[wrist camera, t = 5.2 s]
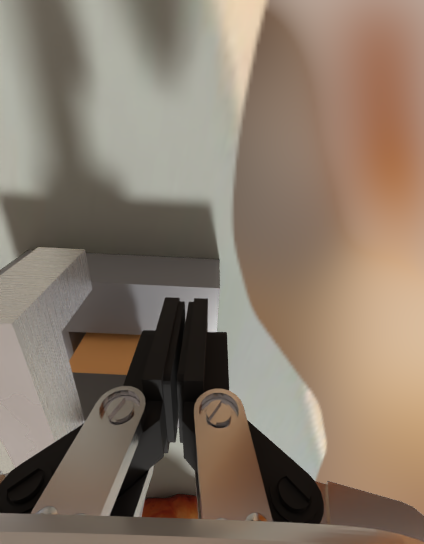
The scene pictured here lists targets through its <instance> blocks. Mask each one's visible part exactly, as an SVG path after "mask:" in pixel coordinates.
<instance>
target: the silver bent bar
mask: <svg viewBox="0 0 424 544" xmlns="http://www.w3.org/2000/svg"><path fill="white" fill-rule="evenodd" d="M91 290H92V284H91V279H90V273H89V268H88V262H87V257H86V252H85V249H67V248H46V247H38V248H36V249H35V250H34V251H32V252H31V253H30V254H28V255H27V256H26V257H24V258H23V259H22V260H20V261H19V262H18V263H16V264H15V265H13V266H12V267H11V268H9V269H8V270H7V271H5V272H4V273H3V274H1V275H0V439H1V441H2V443H3V445H4V447H5V449H6V451H7V453H8V455H9V457H10V459H11V461H12V463H13V465H14V467H15V468H16V467H17V466H19V465H20V464H22V463H23V462H25V461H26V460H28V459H29V458H31V457H32V456H34V455H35V454H37V453H39V452H40V451H42V450H43V449H45V448H46V447H48V446H49V445H51V444H52V443H54V442H56V441H57V440H59V439H60V438H62V437H63V436H65V435H66V434H68V433H69V432H71V431H73V430H74V429H76V428H77V427H79V426H80V425H82V424H83V423H85V419H84V415H83V411H82V408H81V404H80V400H79V396H78V393H77V389H76V385H75V381H74V378H73V374H72V370H71V366H70V363H69V359H68V355H67V351H66V348H65V344H64V340H63V336H62V333H61V332H62V330H63V329H64V328H65V326H66V325H67V323H68V322H69V321H70V319H71V318H72V317H73V315H74V314H75V312H76V311H77V310H78V308H79V307H80V305H81V304H82V303H83V301H84V300H85V299H86V297H87V296H88V294H89V293H90V292H91Z"/></svg>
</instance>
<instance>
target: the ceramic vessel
mask: <svg viewBox="0 0 424 544" xmlns="http://www.w3.org/2000/svg"><path fill="white" fill-rule="evenodd" d="M142 517H153V518H183V519H198V511H197V497H196V496H194V495H185V494H177V495H174V496H172V497H168V498H147V499H145V502H144V507H143V512H142Z"/></svg>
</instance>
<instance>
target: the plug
mask: <svg viewBox="0 0 424 544" xmlns="http://www.w3.org/2000/svg"><path fill="white" fill-rule="evenodd" d="M140 336H141V335H130V334H109V333H87V332H86V334H85V336H84V337H83V339H82V341H81V342H80V344H79V345H78V347H77V349H76V350H75V352H74V354H73V355H72V357H71V359H70V360H69V363H70V366H71V370H72V374H73V378H74V381H75V385H76V389H77V393H78V396H79V400H80V404H81V408H82V411H83V415H84V419H85V421H86V419H87V418H88V416H89V414H90V413H91V411H92V409H93V408H94V406H95V404H96V402H97V401H98V400H99V399H100V397H101V396H102V395H104V394H105V393H106V392H107V391H109V390H111V389H114V388H116V387H120V386H123V384H124V381H125V379H126V376H127V373H128V370H129V367H130V364H131V361H132V359H133V356H134V353H135V350H136V347H137V344H138V341H139V339H140Z"/></svg>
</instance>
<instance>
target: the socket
mask: <svg viewBox="0 0 424 544" xmlns="http://www.w3.org/2000/svg"><path fill="white" fill-rule="evenodd" d="M32 251H33V250H28V251H26V252H25V253H23V254H22V255H21V256H19V257H18V258H16V259H15V260H14V261H12V262H11V263H9V264H8V265H7V266H5V267H4V268H2V269H1V270H0V275H1V274H3V273H4V272H5V271H7V270H8V269H9V268H11V267H12V266H13V265H15V264H16V263H18V262H19V261H20V260H22V259H23V258H24V257H26V256H27V255H28V254H30V253H31V252H32ZM86 257H87V262H88V268H89V273H90V279H91V284H92V290H91V292H90V293H89V294H88V296H87V297H86V299H85V300H84V301H83V303H82V304H81V305H80V307H79V308H78V310H77V311H76V312H75V314H74V315H73V317H72V318H71V319H70V321H69V322H68V323H67V325H66V326H65V328H64V329H63V330H62V332H61V333H62V336H63V340H64V344H65V348H66V351H67V355H68V359H69V360H70V359H71V357H72V355H73V354H74V352H75V350H76V349H77V347H78V345H79V344H80V342H81V341H82V339H83V337H84V336H85V334H86V332H87V333H109V334H130V335H141V333H142V331H143V330H156V327H157V324H158V320H159V317H160V313H161V310H162V306H163V303H164V300H165V298H166V297H172V298H180V301H184V302H185V321H186V316H187V309H188V303H189V302H194V298H208V332H217V320H218V305H219V290H220V270H219V259H200V258H179V257H158V256H137V255H116V254H95V253H86ZM177 428H179V419H178V427H177ZM144 502H145V499H144ZM144 502H143V505H142V508H141V511H140V515H139V517H142V512H143V507H144Z"/></svg>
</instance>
